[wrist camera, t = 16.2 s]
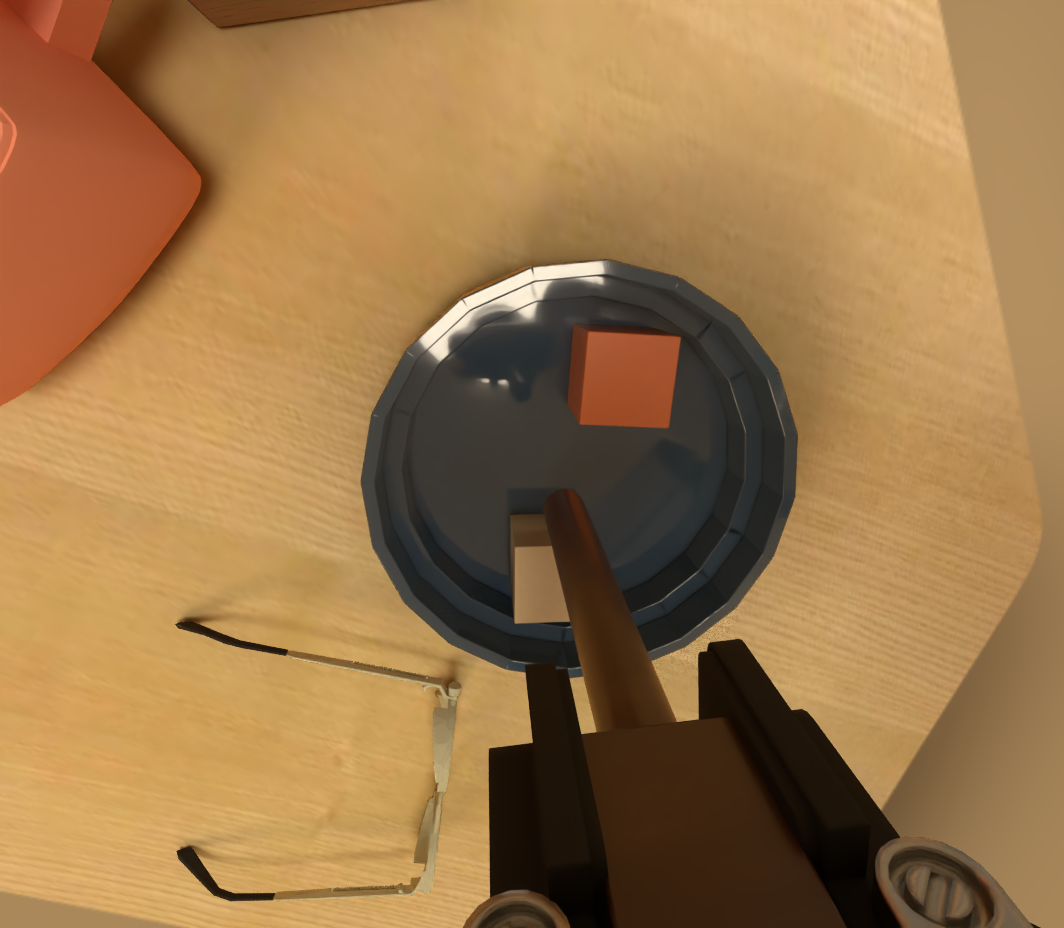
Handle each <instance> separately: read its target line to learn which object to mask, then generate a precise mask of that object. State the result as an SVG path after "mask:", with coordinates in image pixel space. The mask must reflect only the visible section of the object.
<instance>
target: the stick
mask: <svg viewBox="0 0 1064 928" xmlns="http://www.w3.org/2000/svg"><path fill="white" fill-rule="evenodd" d="M543 512H544V516H545V521H546V525H547V529H548V533H549V537H550V541H551V545H552V549H553V554H554V558H555V562H556V566H557V570H558V574H559V578H560V582H561V586H562V591H563V595H564V599H565V603H566V607H567V611H568V615H569V619H570V624H571V628H572V632H573V636H574V640H575V644H576V648H577V652H578V657H579V661H580V665H581V669H582V673H583V677H584V681H585V685H586V690H587V694H588V698H589V702H590V706H591V710H592V714H593V718H594V722H595V727H596V731H597V732H595V733H587V734H581V735H582V740H583V745H584V750H585V754H586V759H587V764H588V769H589V773H590V778H591V783H592V788H593V792H594V797H595V802H596V807H597V811H598V816H599V821H600V826H601V830H602V835H603V840H604V846H605V852H606V859H607V866H608V876H609V878H607V879H605V881H604V894H605V908H606V922H607V928H848V927H847V926H846V924H845V922H844V920H843V918H842V917H841V915H840V913H839V911H838V909H837V907H836V906H835V904H834V902H833V900H832V898H831V897H830V895H829V893H828V891H827V889H826V888H825V886H824V884H823V882H822V880H821V878H820V877H819V875H818V873H817V871H816V869H815V868H814V866H813V864H812V862H811V860H810V858H809V857H808V855H807V853H806V852H804V851H803V850H802V848H801V846H800V844H799V842H798V841H797V839H796V837H795V835H794V833H793V831H792V830H791V828H790V826H789V824H788V822H787V821H786V819H785V817H784V815H783V813H782V811H781V810H780V808H779V806H778V804H777V802H776V800H775V799H774V797H773V795H772V793H771V791H770V789H769V788H768V786H767V784H766V782H765V780H764V779H763V777H762V775H761V773H760V771H759V769H758V768H757V766H756V764H755V762H754V760H753V758H752V757H751V755H750V753H749V751H748V749H747V747H746V746H745V744H744V742H743V740H742V738H741V737H740V735H739V733H738V731H737V729H736V727H735V726H734V724H733V722H732V720H731V718H730V717H729V716H723V717H715V718H707V719H699V720H691V721H683V722H677V721H676V718H675V716H674V714H673V711H672V709H671V707H670V704H669V702H668V699H667V697H666V695H665V692H664V690H663V688H662V685H661V683H660V681H659V678H658V676H657V674H656V671H655V669H654V667H653V664H652V662H651V659H650V657H649V655H648V652H647V650H646V648H645V645H644V643H643V641H642V638H641V636H640V634H639V631H638V629H637V627H636V624H635V622H634V619H633V617H632V615H631V612H630V610H629V608H628V605H627V603H626V601H625V598H624V596H623V594H622V591H621V589H620V586H619V584H618V582H617V579H616V577H615V575H614V572H613V570H612V568H611V565H610V563H609V561H608V558H607V556H606V554H605V551H604V549H603V546H602V544H601V542H600V539H599V537H598V535H597V532H596V530H595V528H594V525H593V523H592V521H591V518H590V516H589V514H588V511H587V509H586V506H585V504H584V502H583V500H582V498H581V496H580V495H579V494H578V493H576V492H575V491H573V490H569V489H560V490H557V491H555V492H553V493H551V494H550V495H549V496H548V497H547V499H546V500H545V503H544V506H543Z"/></svg>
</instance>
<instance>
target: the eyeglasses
mask: <svg viewBox="0 0 1064 928" xmlns="http://www.w3.org/2000/svg"><path fill="white" fill-rule="evenodd" d="M175 625H176V626H177V627H178V628H179V629H183V630H187V631H190V632H194V633H198V634H202V635H205V636H207V637H210V638H212V639H215V640H217V641H220V642H222V643H224V644H228V645H232V646H236V647H240V648H245V649H250V650H256V651H262V652H267V653H273V654H279V655H284V656H288V657H290V658H292V659H297V660H302V661H307V662H312V663H317V664H322V665H327V666H332V667H337V668H342V669H347V670H352V671H357V672H362V673H367V674H372V675H377V676H382V677H387V678H392V679H397V680H402V681H407V682H412V683H417V684H422V686H423V689H424V690H425V691H426V690H427V689H428V688H430V687H437V688H439V690H437V691H436V696H437V697H439V698H440V703H441V708H434V712H433V758H434V762H433V766H434V771H435V780H436V782H437V791H434V796H433V798H431V797H430V798H429V799H428V802H429V803H428V806H427V809H426V812H425V815H424V818H423V821H422V825H421V828H420V832H419V836H418V840H417V844H416V849H415V854H414V863H421V864H425V869H424V870H423V873H422V875H421V877H419V878H412V879H411V885H403V884H402V883H400V884H398V886H397V885H396V886H394V885H393V886H392V885H390V886H385V887H384V886H373V887H372V886H370V887H369V886H368V887H364V886H363V887H349V888H348V887H347V888H346V887H345V888H342V889H341V888H337V889H336V888H334V889H333V892H331V889H332V888H330V889H314V890H299V891H284V892H277V893H232V892H229V891H226V890H223V889H221V888H219V887H218V885H217V884H216V882H215V881H214V880H213V878H212V877H211V875H210V874H209V872H208V871H207V870H206V868H205V867H204V865H203V864H202V862H201V861H200V859H199V858H198V856H197V854H196V853H195V851H194V850H193V849H192V848H191V847H186V848H183V849H181V850H178V851H177V855H178V859H179V860H180V861H181V862H182V863H183V864H184V865H185V866H186V867H187V868H188V869H189V870H190V871H191V873H192V874H193V875H194V876H195V877H196V878H197V879H198V880H199V881H200V882H201V883H202V884H203V885H204V886H205V887H206V888H207V889H208V890H209V891H210V892H211V893H212V894H213V895H214V896H217V897H220V898H223V899H226V900H229V901H260V900H276V901H294V900H319V899H343V898H368V897H392V896H413V895H414V894H415V893H416V891H421V892H422V893H424V894H428V893H431V891H432V886H433V879H434V872H435V864H436V856H437V848H438V839H439V830H440V820H441V809H442V798H443V792H446V789H447V784H448V777H449V770H450V763H451V755H452V746H453V738H454V728H455V718H456V706H457V698H458V695H460V690H461V685H460V684H459V683H458V682H452V683H450V684H449V689H448V690H447V689H446V686H445V684H444V682H443V680H442V679H439V678H434V677H429V676H425V675H424V676H423V675H419V674H416V673H409V672H405V671H400V670H396V669H393V670H392V669H388V668H387V667H386V668H385V667H384V668H383V667H380V666H379V667H378V666H377V667H376V666H375V665H370V664H367V665H366V664H364V663H359V662H356V663H355V662H354V663H351V662H353V661H348V660H342V659H336V658H330V657H325V656H319V655H313V654H308V653H302V652H296V651H288V650H286V649H281V648H276V647H271V646H266V645H261V644H256V643H251V642H245V641H241V640H238V639H235V638H232V637H230V636H227V635H224V634H221V633H219V632H216V631H214V630H212V629H209V628H207V627H204V626H202V625H200V624H197V623H195V622H179V623H177V624H175ZM426 677H428V679H426ZM395 887H396V889H395ZM371 888H372V890H371ZM352 889H353V890H352ZM357 889H358V890H357ZM366 889H367V890H366Z"/></svg>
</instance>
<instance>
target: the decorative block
mask: <svg viewBox="0 0 1064 928" xmlns="http://www.w3.org/2000/svg"><path fill="white" fill-rule="evenodd" d="M188 1H189V2H190V3H191V4H192V5H193V6H194V7H195V8H196V9H197V10H198V11H200V12H201V13H202V14H203V15H204V16H205V17H206V18H207V19H209V20H210V21H211V22H212V23H214V24H215V25H216V26H218V27H225V26H232V25H239V24H246V23H253V22H260V21H267V20H275V19H282V18H289V17H296V16H303V15H310V14H317V13H324V12H331V11H338V10H345V9H352V8H359V7H366V6H373V5H380V4H387V3H394V2H400V1H407V0H188Z"/></svg>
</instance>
